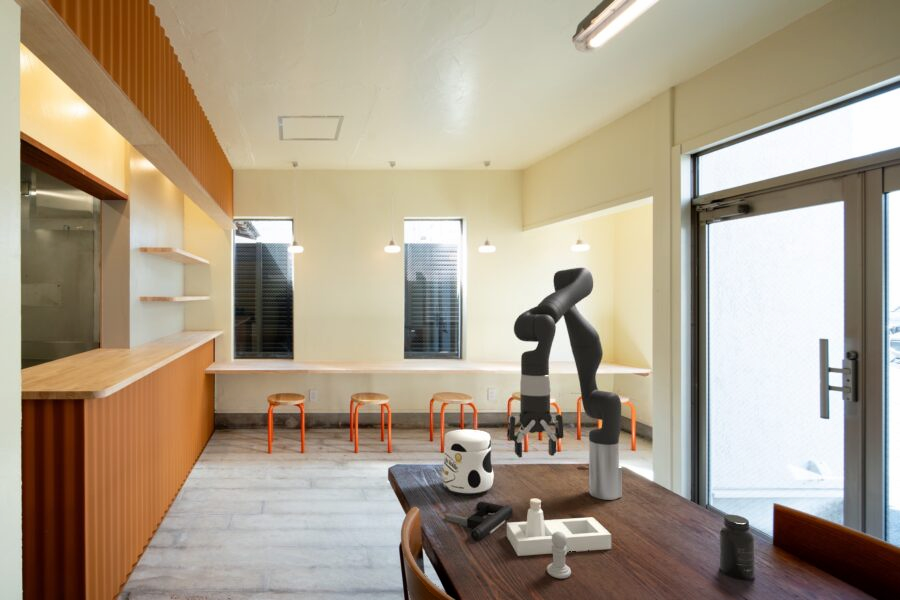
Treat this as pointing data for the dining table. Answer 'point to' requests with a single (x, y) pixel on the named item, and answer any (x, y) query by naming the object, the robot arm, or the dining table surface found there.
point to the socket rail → (577, 532)
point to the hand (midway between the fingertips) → (535, 455)
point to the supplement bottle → (737, 548)
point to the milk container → (467, 462)
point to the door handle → (483, 519)
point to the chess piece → (559, 557)
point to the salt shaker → (535, 519)
